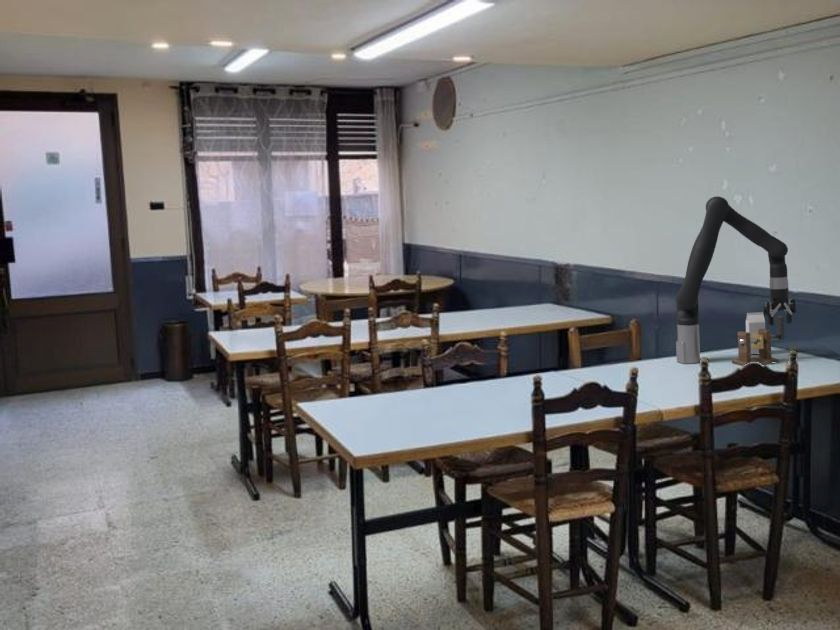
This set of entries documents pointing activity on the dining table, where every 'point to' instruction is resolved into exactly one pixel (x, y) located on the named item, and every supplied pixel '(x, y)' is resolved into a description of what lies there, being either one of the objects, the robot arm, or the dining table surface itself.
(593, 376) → the dining table surface
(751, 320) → the milk carton
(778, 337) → the grey l-shaped piece
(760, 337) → the spacer
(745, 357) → the stand
